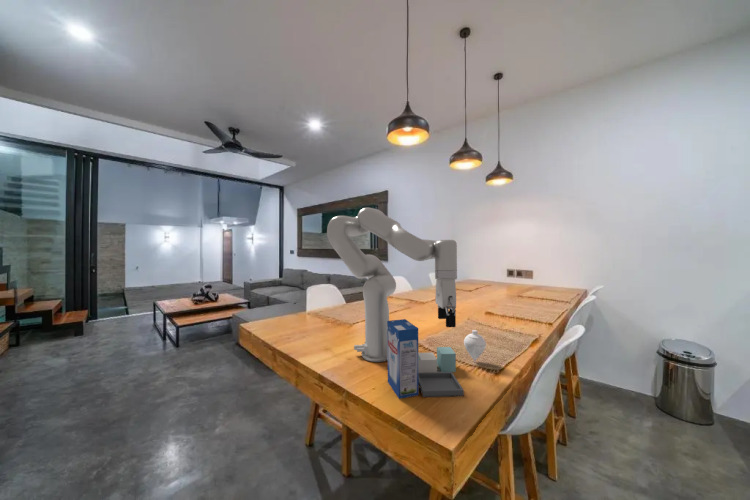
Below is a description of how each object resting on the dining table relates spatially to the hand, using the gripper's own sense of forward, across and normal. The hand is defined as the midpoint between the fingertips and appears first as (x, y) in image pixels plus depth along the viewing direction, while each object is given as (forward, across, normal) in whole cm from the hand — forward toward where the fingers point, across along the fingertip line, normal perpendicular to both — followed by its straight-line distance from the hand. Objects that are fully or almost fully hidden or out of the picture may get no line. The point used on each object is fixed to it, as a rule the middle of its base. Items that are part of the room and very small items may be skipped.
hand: (446, 322), depth 96 cm
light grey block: (+16, 0, -8) cm, 18 cm away
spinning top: (+17, -4, +12) cm, 21 cm away
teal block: (+16, 0, 0) cm, 17 cm away
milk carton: (+16, +12, -18) cm, 27 cm away
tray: (+16, +12, -6) cm, 21 cm away
